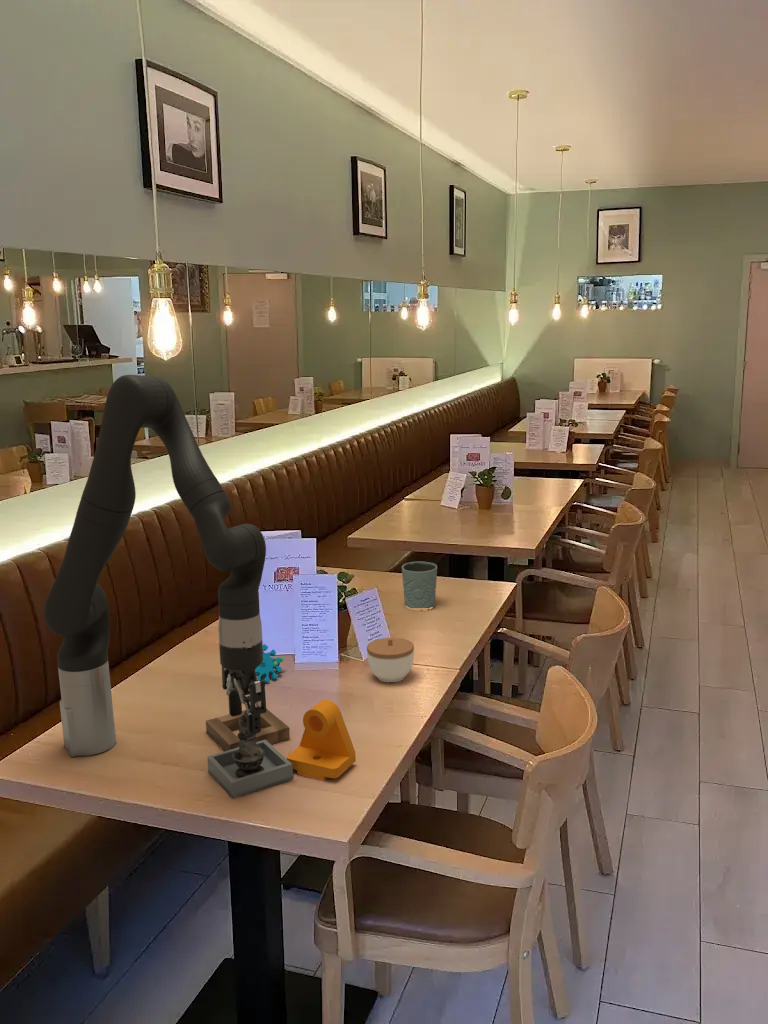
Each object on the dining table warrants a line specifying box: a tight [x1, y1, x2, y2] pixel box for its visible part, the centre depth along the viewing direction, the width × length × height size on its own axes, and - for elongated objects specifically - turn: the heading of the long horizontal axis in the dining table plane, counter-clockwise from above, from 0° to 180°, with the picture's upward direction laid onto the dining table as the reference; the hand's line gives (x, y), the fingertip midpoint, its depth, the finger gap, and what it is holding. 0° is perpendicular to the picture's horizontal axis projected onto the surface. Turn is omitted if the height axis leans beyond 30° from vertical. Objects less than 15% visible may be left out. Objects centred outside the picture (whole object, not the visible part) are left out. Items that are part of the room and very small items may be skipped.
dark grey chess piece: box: [232, 711, 265, 778], centre depth 160 cm, size 6×6×12 cm
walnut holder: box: [205, 708, 291, 752], centre depth 177 cm, size 12×12×2 cm
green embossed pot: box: [401, 561, 438, 608], centre depth 252 cm, size 10×10×12 cm
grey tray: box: [206, 740, 294, 800], centre depth 161 cm, size 12×12×3 cm
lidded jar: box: [366, 637, 415, 684], centre depth 203 cm, size 11×11×9 cm
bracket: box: [286, 699, 357, 781], centre depth 162 cm, size 11×7×12 cm, turn 63°
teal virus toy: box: [255, 643, 285, 684], centre depth 206 cm, size 11×6×10 cm
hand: (245, 723), depth 159 cm, fingers open, 8 cm apart
